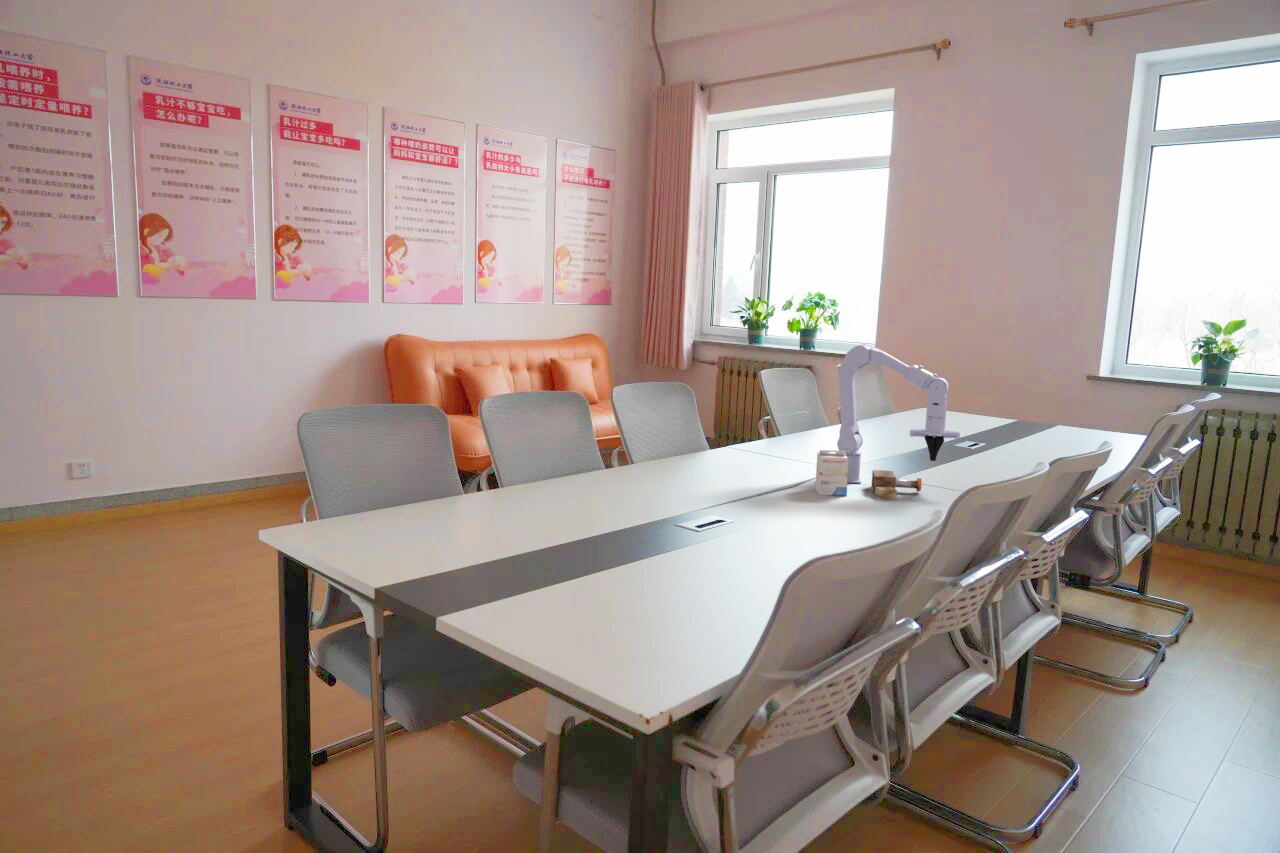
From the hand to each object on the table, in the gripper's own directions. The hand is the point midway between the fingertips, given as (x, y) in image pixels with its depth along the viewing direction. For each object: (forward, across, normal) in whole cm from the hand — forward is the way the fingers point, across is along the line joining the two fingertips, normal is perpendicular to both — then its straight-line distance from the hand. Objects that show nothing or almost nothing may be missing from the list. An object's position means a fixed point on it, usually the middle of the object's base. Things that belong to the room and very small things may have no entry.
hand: (932, 460), depth 265 cm
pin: (+9, -10, -5) cm, 14 cm away
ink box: (+10, -31, -12) cm, 35 cm away
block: (+10, -15, -14) cm, 23 cm away
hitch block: (+9, -15, -5) cm, 18 cm away
